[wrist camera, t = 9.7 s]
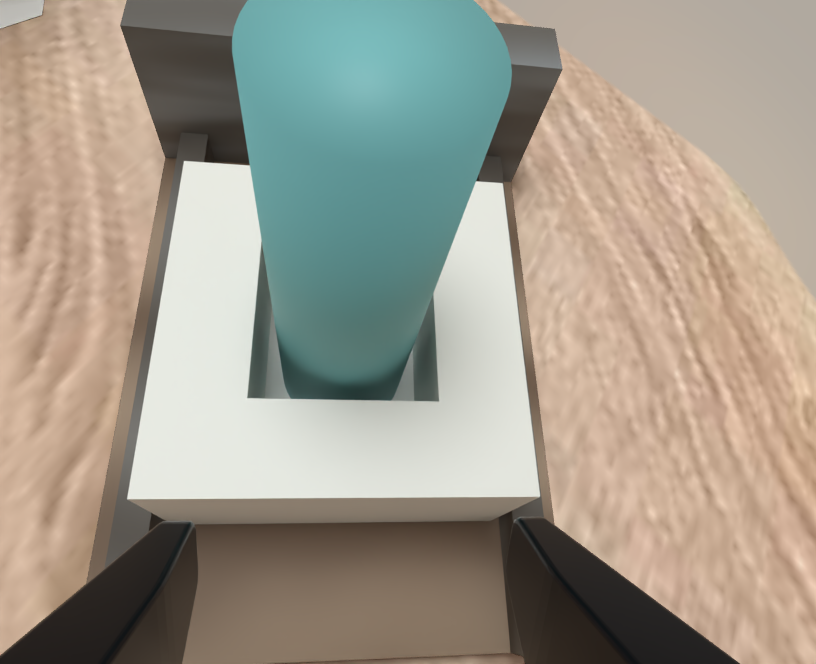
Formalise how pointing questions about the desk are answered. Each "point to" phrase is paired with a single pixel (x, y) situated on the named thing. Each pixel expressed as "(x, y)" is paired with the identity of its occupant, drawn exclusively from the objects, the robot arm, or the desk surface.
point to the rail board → (313, 542)
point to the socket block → (328, 419)
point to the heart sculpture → (19, 11)
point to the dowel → (362, 171)
